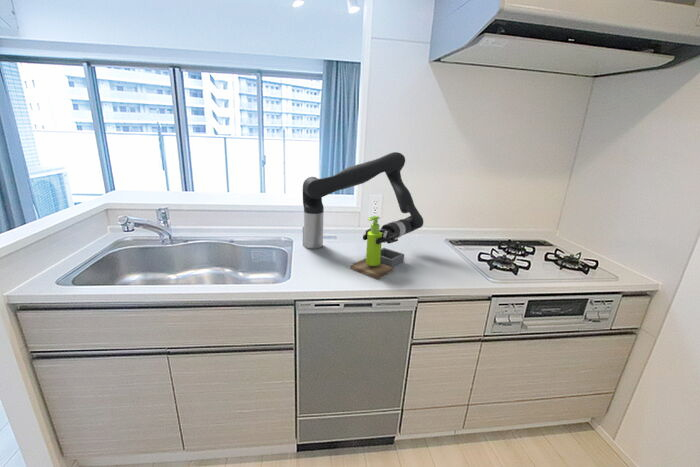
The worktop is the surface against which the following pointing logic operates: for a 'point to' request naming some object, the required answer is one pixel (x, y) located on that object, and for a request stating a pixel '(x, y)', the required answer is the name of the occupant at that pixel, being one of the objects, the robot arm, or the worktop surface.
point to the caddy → (391, 257)
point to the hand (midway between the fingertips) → (370, 239)
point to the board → (371, 269)
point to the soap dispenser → (373, 243)
